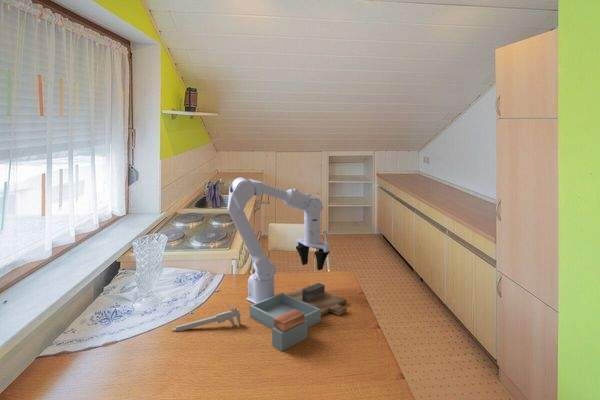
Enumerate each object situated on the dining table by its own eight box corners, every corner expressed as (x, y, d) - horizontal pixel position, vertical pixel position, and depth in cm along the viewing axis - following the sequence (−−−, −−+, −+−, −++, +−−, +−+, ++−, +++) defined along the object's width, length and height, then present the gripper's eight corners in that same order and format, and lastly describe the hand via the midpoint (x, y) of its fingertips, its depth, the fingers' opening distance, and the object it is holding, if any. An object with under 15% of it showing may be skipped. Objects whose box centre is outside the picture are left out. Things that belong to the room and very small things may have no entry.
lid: (281, 301, 140) (281, 285, 139) (309, 290, 149) (308, 275, 148) (328, 323, 124) (328, 305, 123) (355, 308, 134) (356, 291, 133)
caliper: (240, 324, 124) (239, 305, 123) (240, 326, 123) (240, 307, 122) (172, 330, 120) (171, 311, 119) (171, 332, 119) (170, 313, 118)
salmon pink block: (274, 326, 111) (273, 318, 110) (294, 316, 116) (294, 309, 116) (283, 331, 108) (283, 323, 107) (304, 321, 113) (304, 313, 113)
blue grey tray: (234, 323, 124) (233, 308, 123) (282, 303, 137) (282, 289, 136) (281, 351, 108) (281, 333, 107) (330, 325, 122) (330, 309, 121)
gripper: (335, 231, 138) (335, 268, 141) (305, 224, 148) (305, 259, 151) (321, 235, 133) (321, 274, 136) (291, 228, 144) (292, 264, 146)
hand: (312, 266), depth 143 cm, fingers open, 7 cm apart
